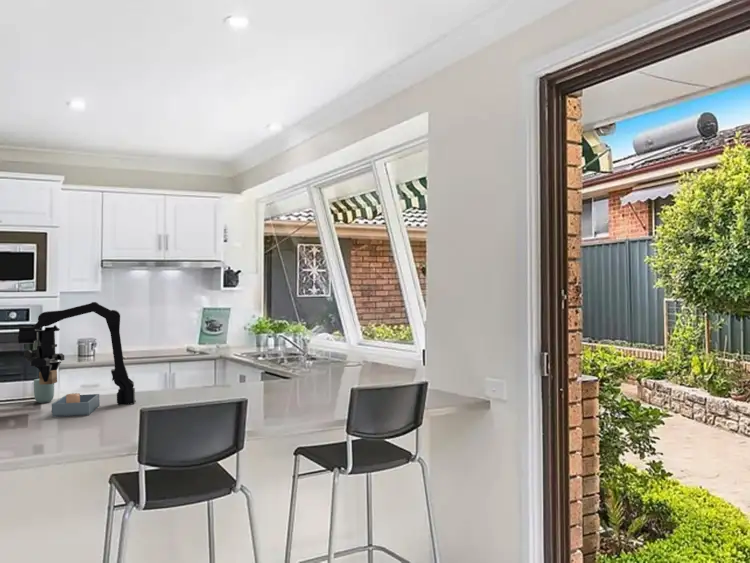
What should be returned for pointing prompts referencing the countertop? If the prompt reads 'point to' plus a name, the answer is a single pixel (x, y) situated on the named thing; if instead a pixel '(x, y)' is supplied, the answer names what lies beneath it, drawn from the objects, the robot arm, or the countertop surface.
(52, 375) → the walnut cube
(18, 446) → the countertop surface
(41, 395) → the cup
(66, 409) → the slate tote
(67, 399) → the terracotta cylinder
